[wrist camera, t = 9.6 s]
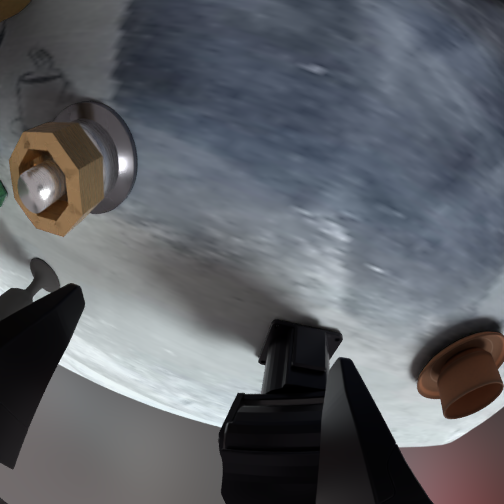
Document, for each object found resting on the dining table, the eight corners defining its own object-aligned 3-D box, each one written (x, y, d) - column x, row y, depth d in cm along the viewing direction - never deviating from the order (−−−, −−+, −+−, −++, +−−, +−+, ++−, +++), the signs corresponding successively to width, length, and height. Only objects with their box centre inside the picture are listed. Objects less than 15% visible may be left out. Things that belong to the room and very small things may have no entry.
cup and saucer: (508, 352, 24) (523, 390, 19) (432, 396, 30) (439, 435, 25) (494, 302, 21) (518, 350, 16) (398, 361, 27) (406, 412, 22)
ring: (106, 224, 19) (86, 244, 16) (39, 207, 19) (19, 222, 17) (103, 124, 15) (77, 134, 12) (31, 121, 15) (6, 131, 13)
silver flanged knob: (136, 220, 22) (91, 270, 16) (54, 200, 22) (6, 238, 16) (141, 103, 16) (78, 123, 11) (49, 101, 17) (-13, 122, 11)
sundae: (20, 246, 26) (-61, 333, 14) (57, 259, 26) (-30, 363, 13) (35, 289, 30) (-30, 373, 18) (71, 304, 30) (5, 402, 17)
